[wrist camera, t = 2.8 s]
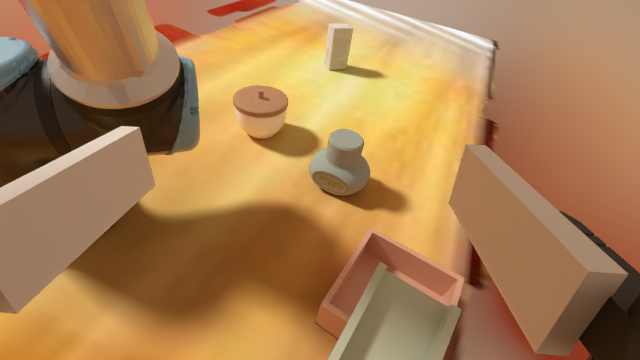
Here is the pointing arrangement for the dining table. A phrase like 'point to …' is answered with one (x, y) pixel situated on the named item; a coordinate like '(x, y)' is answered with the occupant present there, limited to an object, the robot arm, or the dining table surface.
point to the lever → (396, 323)
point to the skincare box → (338, 46)
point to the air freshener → (341, 164)
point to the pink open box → (398, 262)
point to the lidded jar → (260, 110)
